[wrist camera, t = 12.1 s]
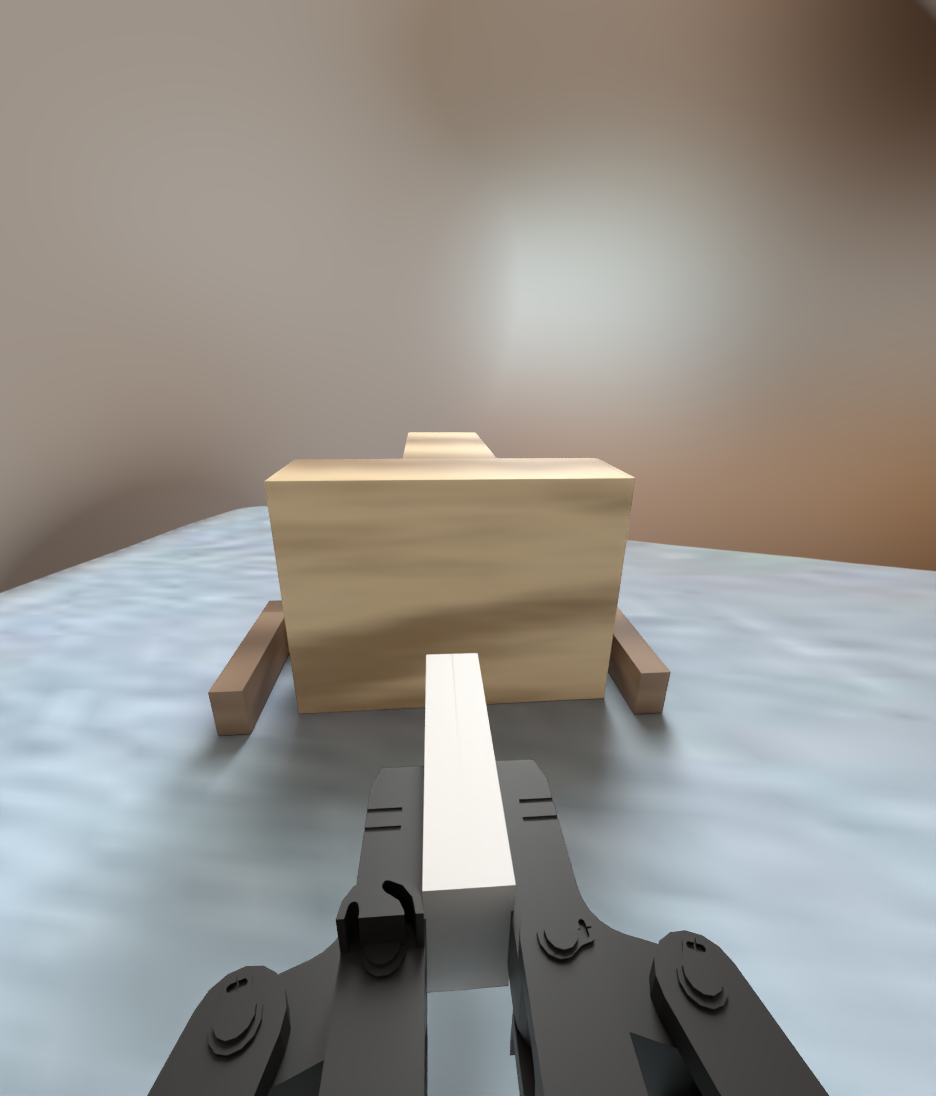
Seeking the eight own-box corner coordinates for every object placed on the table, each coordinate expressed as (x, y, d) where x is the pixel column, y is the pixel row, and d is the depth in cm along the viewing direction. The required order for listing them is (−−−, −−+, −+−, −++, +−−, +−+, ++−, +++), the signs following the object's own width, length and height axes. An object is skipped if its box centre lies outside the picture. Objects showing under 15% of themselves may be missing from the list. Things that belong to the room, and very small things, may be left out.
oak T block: (603, 698, 25) (635, 478, 21) (298, 713, 24) (264, 481, 19) (536, 575, 40) (546, 432, 36) (346, 580, 38) (333, 432, 34)
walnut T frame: (662, 712, 24) (670, 672, 23) (217, 735, 22) (208, 692, 21) (554, 556, 44) (556, 531, 43) (316, 561, 42) (313, 535, 41)
